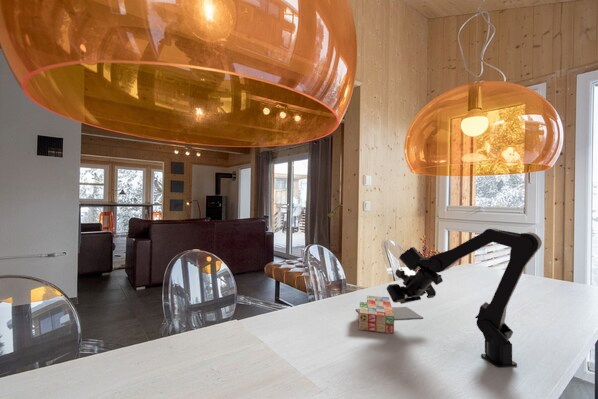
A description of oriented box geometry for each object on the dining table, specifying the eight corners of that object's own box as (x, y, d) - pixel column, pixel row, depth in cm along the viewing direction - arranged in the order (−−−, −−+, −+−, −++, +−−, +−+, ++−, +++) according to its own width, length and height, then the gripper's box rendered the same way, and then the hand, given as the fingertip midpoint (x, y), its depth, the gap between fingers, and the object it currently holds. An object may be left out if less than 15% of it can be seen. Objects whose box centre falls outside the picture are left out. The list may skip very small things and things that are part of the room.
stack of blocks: (389, 311, 124) (359, 308, 127) (389, 297, 124) (359, 294, 127) (393, 334, 103) (358, 329, 106) (394, 316, 103) (358, 312, 106)
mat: (423, 318, 118) (423, 317, 118) (367, 321, 115) (367, 320, 115) (406, 307, 131) (406, 306, 131) (355, 309, 127) (355, 308, 127)
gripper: (429, 260, 112) (409, 282, 122) (389, 262, 105) (371, 286, 115) (446, 285, 104) (424, 307, 114) (404, 290, 98) (384, 313, 108)
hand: (400, 302), depth 113 cm, fingers closed
